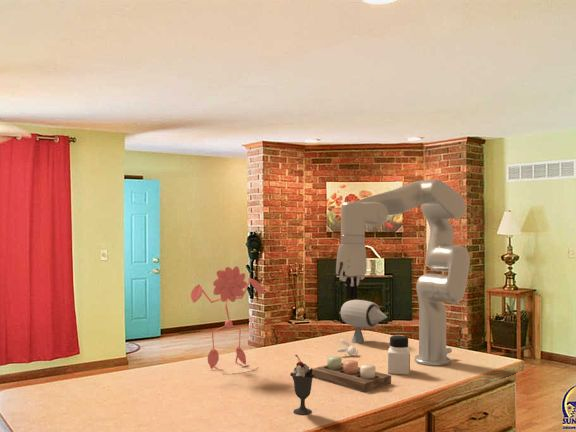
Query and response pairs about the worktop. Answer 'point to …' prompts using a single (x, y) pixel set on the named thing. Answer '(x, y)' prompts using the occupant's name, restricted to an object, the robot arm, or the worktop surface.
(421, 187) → the robot arm
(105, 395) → the worktop surface
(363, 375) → the cream egg
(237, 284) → the figurine
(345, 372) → the peach rounded dome
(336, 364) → the sage button
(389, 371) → the medicine bottle
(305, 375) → the sundae
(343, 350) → the rabbit figurine
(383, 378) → the button board
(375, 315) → the jet engine
